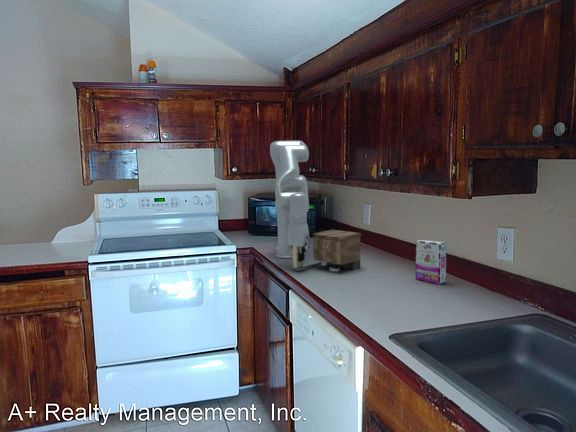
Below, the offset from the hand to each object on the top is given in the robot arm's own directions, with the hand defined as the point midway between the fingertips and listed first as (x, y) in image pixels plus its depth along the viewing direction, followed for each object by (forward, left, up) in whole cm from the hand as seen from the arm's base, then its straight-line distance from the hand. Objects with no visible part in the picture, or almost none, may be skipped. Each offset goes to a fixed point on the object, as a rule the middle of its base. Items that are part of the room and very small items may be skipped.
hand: (299, 260), depth 196 cm
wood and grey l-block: (0, +5, -4) cm, 7 cm away
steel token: (+13, +10, -5) cm, 17 cm away
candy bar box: (+53, +22, -5) cm, 57 cm away
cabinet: (+11, +14, -5) cm, 18 cm away
